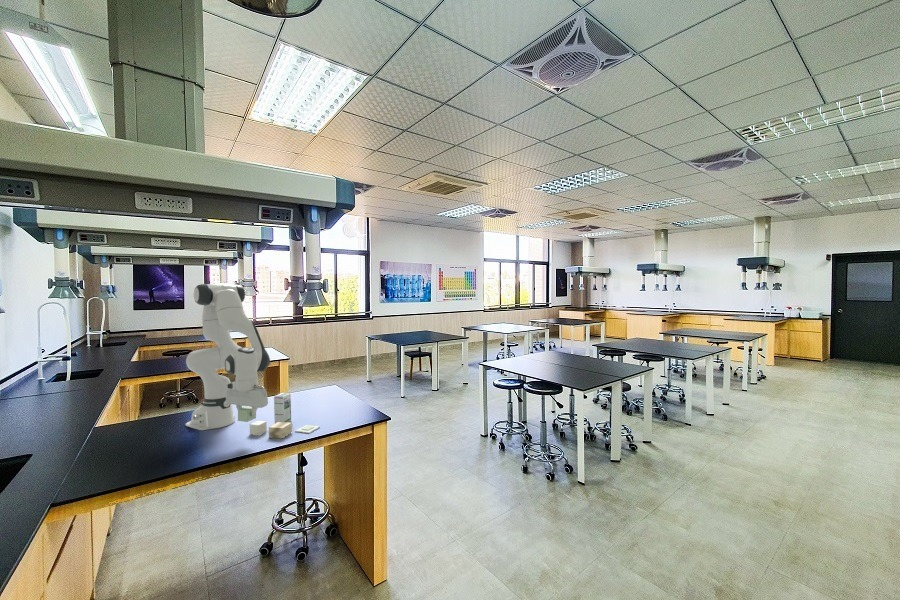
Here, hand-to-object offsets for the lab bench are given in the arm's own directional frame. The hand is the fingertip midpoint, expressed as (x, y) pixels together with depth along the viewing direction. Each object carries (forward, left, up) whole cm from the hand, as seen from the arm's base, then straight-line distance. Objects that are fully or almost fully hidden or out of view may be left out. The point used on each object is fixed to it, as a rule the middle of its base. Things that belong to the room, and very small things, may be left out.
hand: (247, 415), depth 161 cm
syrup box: (-3, +25, -12) cm, 28 cm away
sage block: (0, 0, -2) cm, 2 cm away
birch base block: (+8, +11, -12) cm, 19 cm away
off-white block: (-4, +10, -12) cm, 16 cm away
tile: (+16, +20, -12) cm, 28 cm away
